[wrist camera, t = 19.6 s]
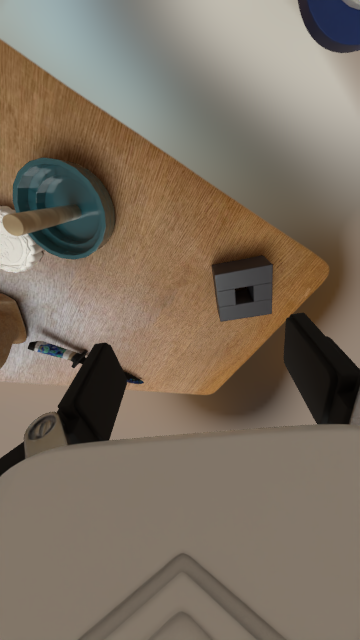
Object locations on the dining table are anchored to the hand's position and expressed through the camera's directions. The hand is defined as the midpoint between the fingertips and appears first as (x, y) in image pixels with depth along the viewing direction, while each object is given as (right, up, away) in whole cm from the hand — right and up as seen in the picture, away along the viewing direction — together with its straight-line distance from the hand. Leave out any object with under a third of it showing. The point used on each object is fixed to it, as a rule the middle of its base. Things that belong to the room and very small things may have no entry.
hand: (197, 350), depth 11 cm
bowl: (-20, +22, +28) cm, 41 cm away
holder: (+12, +9, +34) cm, 37 cm away
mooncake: (-34, +18, +31) cm, 50 cm away
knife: (-24, -9, +48) cm, 54 cm away
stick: (-20, +21, +27) cm, 40 cm away
